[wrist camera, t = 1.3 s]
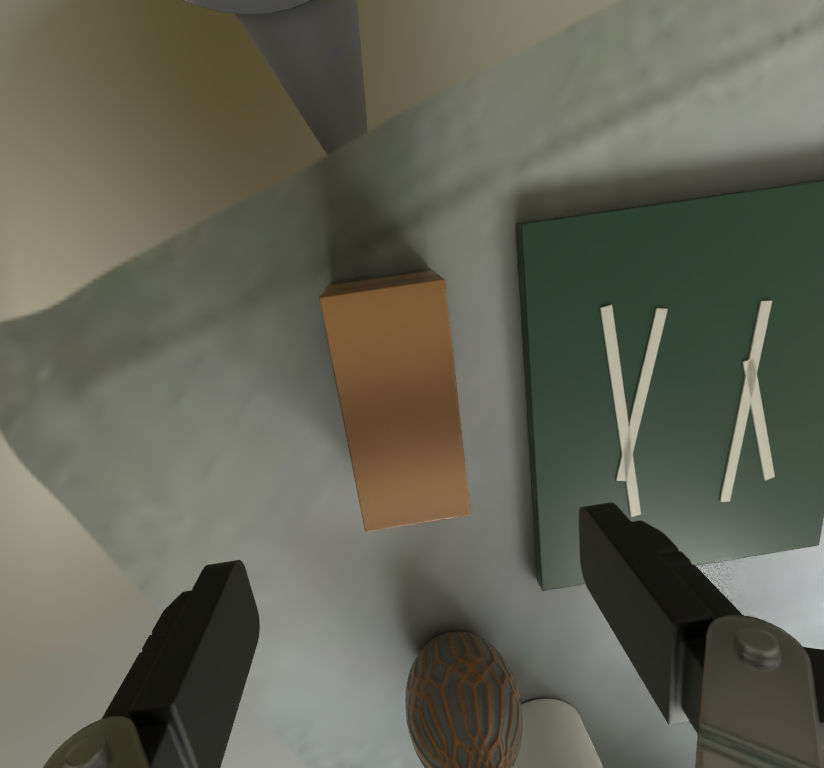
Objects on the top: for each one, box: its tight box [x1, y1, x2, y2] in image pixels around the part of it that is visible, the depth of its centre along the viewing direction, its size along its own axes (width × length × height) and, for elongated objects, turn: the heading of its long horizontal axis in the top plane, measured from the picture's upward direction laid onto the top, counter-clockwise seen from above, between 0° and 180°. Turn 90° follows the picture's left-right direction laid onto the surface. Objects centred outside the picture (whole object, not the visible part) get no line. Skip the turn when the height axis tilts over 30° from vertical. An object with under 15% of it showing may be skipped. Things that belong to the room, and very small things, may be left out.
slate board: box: [516, 180, 824, 591], centre depth 27 cm, size 22×18×1 cm
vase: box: [406, 632, 523, 768], centre depth 28 cm, size 7×7×9 cm
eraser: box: [319, 268, 471, 532], centre depth 23 cm, size 11×5×6 cm, turn 7°
